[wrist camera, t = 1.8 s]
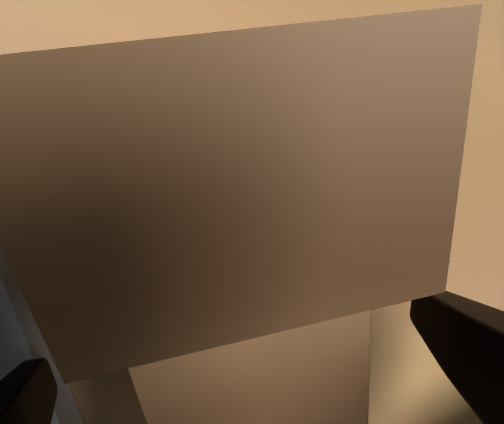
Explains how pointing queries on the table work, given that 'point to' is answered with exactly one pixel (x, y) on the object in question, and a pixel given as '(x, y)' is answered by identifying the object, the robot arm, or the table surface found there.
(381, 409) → the table surface
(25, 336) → the jig
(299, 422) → the tan flanged beam
